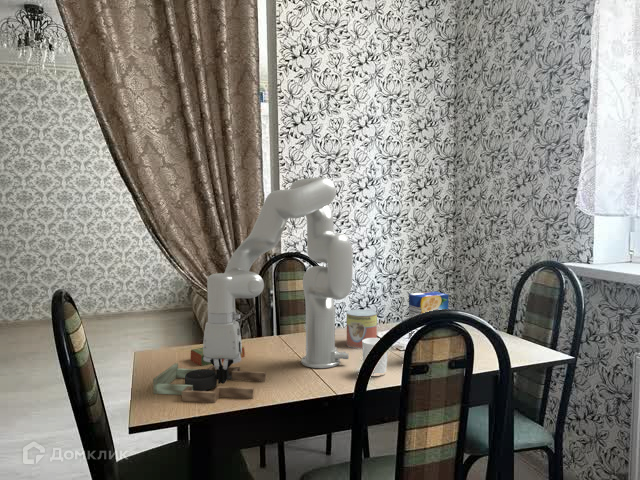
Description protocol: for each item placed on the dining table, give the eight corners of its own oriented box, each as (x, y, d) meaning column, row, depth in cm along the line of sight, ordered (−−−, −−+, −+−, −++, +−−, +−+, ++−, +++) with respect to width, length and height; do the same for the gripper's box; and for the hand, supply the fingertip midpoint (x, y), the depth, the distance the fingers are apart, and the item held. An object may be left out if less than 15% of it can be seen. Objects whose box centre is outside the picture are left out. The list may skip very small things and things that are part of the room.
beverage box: (408, 359, 168) (408, 293, 166) (434, 354, 172) (435, 291, 171) (420, 364, 161) (421, 297, 160) (447, 360, 166) (448, 294, 165)
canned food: (341, 346, 183) (341, 314, 182) (352, 339, 193) (352, 308, 193) (371, 350, 179) (371, 316, 178) (380, 342, 189) (380, 310, 188)
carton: (245, 358, 171) (244, 345, 170) (201, 367, 161) (201, 354, 160) (233, 352, 177) (232, 340, 177) (190, 361, 167) (190, 348, 167)
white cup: (381, 379, 148) (381, 345, 147) (357, 374, 152) (357, 342, 152) (392, 371, 155) (392, 339, 154) (369, 367, 159) (369, 336, 158)
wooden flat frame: (269, 376, 151) (269, 363, 151) (248, 404, 129) (248, 389, 129) (180, 372, 155) (180, 359, 155) (146, 398, 133) (145, 384, 133)
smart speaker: (180, 392, 138) (180, 378, 138) (189, 381, 147) (189, 368, 147) (212, 392, 138) (212, 378, 137) (220, 381, 147) (219, 368, 146)
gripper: (251, 315, 143) (252, 378, 144) (201, 314, 145) (202, 376, 146) (243, 321, 136) (244, 388, 137) (190, 320, 138) (192, 385, 139)
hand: (222, 381), depth 141 cm, fingers closed
